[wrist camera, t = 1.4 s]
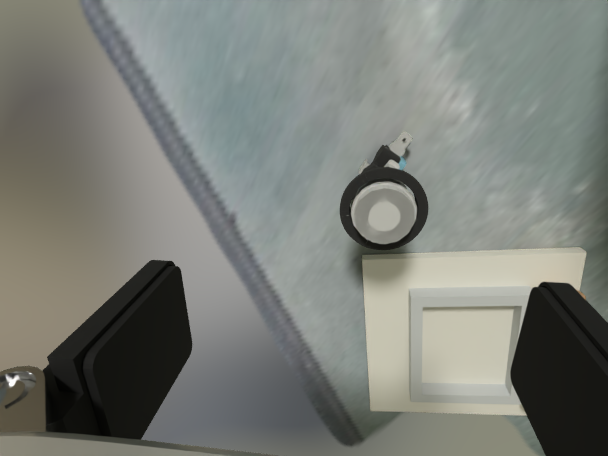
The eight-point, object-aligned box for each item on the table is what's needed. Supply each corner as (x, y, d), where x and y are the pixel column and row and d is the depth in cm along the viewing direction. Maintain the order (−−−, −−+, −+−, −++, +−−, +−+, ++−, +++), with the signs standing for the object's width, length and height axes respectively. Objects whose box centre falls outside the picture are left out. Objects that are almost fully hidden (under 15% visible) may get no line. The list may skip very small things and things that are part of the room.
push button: (380, 113, 30) (389, 134, 21) (434, 151, 30) (467, 188, 21) (332, 181, 33) (321, 226, 23) (383, 215, 33) (392, 272, 24)
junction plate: (580, 247, 32) (608, 270, 28) (550, 408, 39) (570, 443, 35) (362, 254, 35) (362, 277, 31) (370, 403, 42) (371, 435, 38)
